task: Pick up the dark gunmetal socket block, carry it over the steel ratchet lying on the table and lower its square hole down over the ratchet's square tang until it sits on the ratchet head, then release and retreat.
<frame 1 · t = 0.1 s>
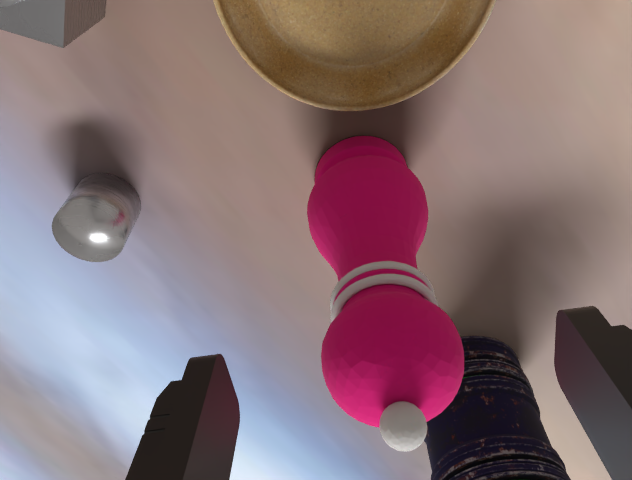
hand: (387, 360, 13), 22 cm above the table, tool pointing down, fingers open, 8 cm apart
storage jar: (463, 371, 47), on the table
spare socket: (108, 201, 36), on the table
pepper mill: (360, 176, 35), on the table
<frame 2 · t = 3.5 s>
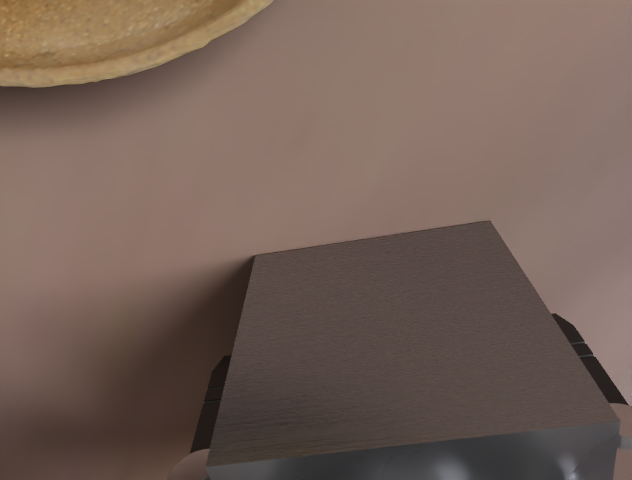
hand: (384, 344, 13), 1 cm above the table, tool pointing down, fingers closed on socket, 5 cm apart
socket: (383, 331, 14), on the table, touching gripper
when the fingers open (4 cm above the table, at t = 8.3 s): socket stays where it is, resting on ratchet.
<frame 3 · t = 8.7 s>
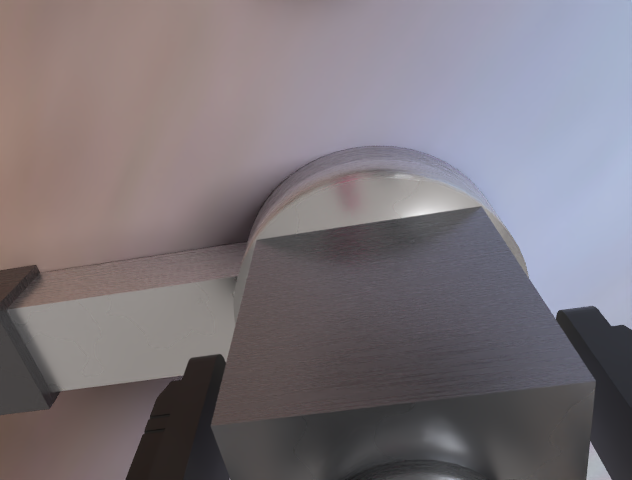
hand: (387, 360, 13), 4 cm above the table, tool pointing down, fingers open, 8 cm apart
socket: (379, 314, 14), point 2 cm above the table, touching ratchet
ratchet: (372, 268, 16), on the table
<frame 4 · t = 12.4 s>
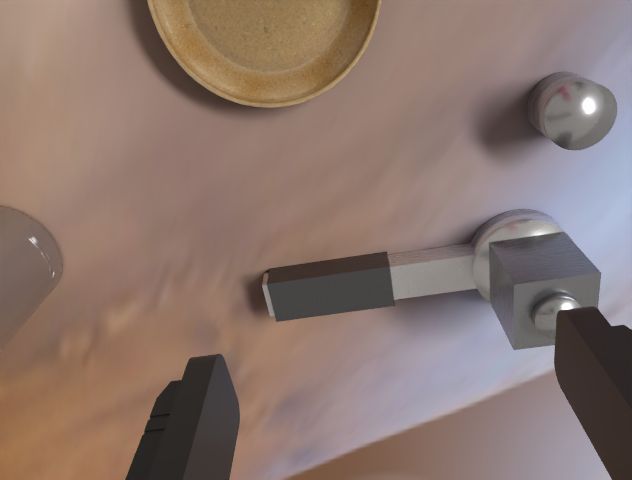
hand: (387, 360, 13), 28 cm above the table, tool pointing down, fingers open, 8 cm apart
socket: (525, 268, 41), point 2 cm above the table, touching ratchet
ratchet: (515, 253, 43), on the table
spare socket: (557, 103, 37), on the table
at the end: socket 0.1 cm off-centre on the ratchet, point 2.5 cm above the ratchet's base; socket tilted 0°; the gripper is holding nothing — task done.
